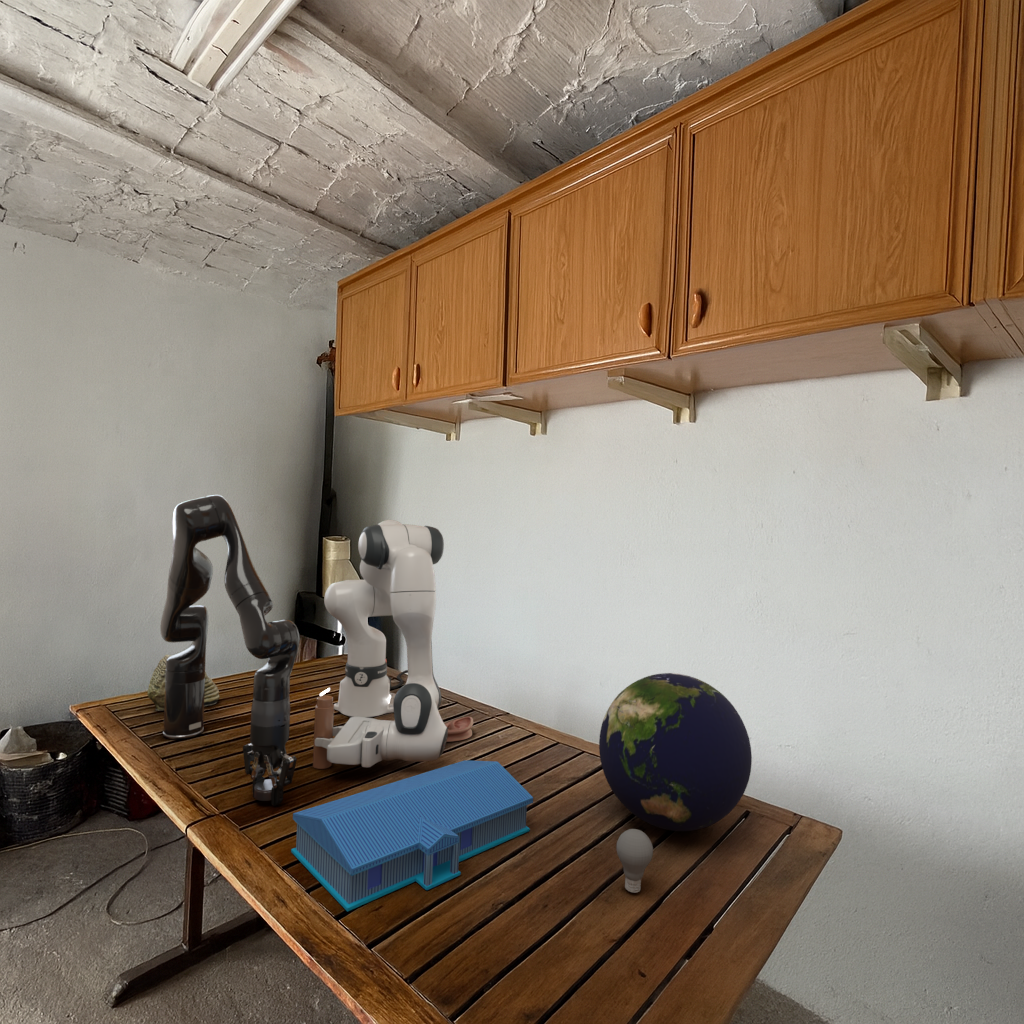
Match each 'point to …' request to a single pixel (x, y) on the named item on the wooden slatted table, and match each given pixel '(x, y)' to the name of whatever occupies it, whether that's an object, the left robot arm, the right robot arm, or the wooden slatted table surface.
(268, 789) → the lid
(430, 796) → the model building
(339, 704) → the right robot arm
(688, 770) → the globe
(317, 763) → the brown cylinder
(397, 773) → the wooden slatted table surface
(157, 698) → the fossil
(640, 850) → the light bulb
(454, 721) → the anatomical model
